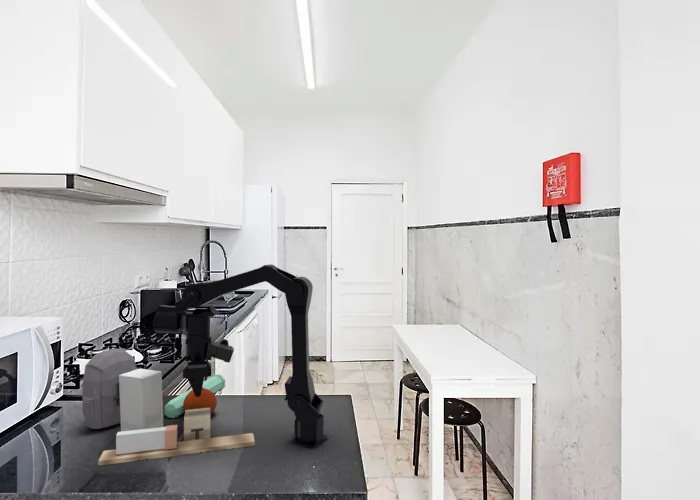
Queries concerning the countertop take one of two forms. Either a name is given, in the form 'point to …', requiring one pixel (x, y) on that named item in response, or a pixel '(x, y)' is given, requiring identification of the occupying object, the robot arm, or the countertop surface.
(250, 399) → the countertop surface
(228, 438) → the plank
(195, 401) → the fruit
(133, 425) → the skincare box
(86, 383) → the soft grey pack
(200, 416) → the wooden block
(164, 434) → the white and pink block
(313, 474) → the countertop surface
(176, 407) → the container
